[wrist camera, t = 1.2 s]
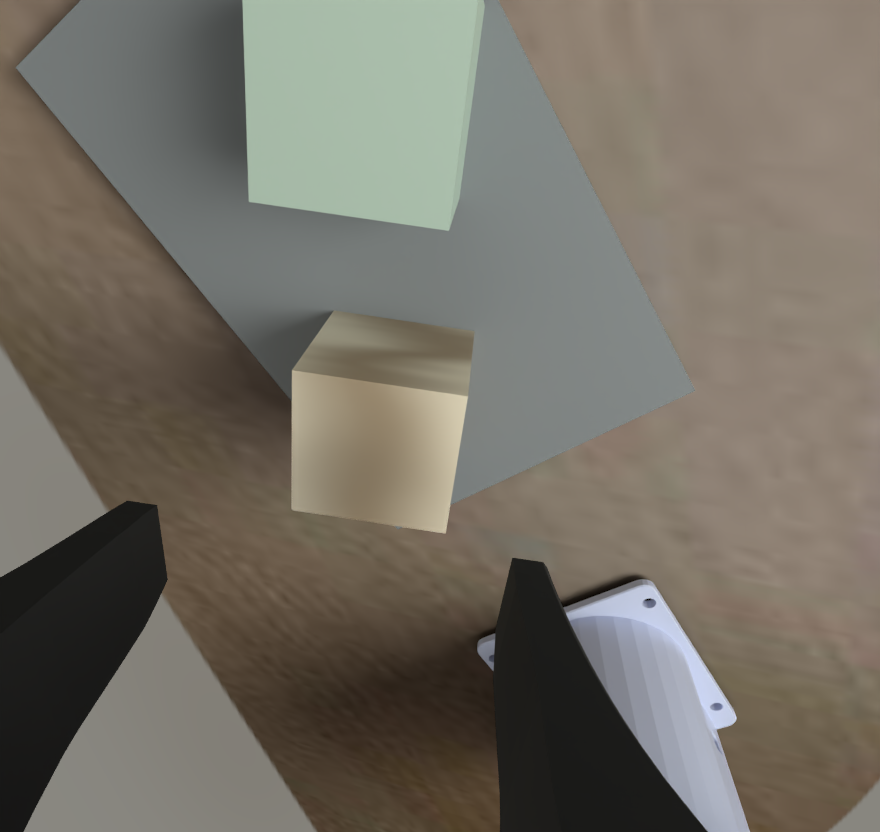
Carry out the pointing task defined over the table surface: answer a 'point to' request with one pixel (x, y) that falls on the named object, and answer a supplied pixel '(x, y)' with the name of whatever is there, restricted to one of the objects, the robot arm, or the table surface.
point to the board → (375, 229)
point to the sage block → (360, 105)
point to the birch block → (379, 420)
